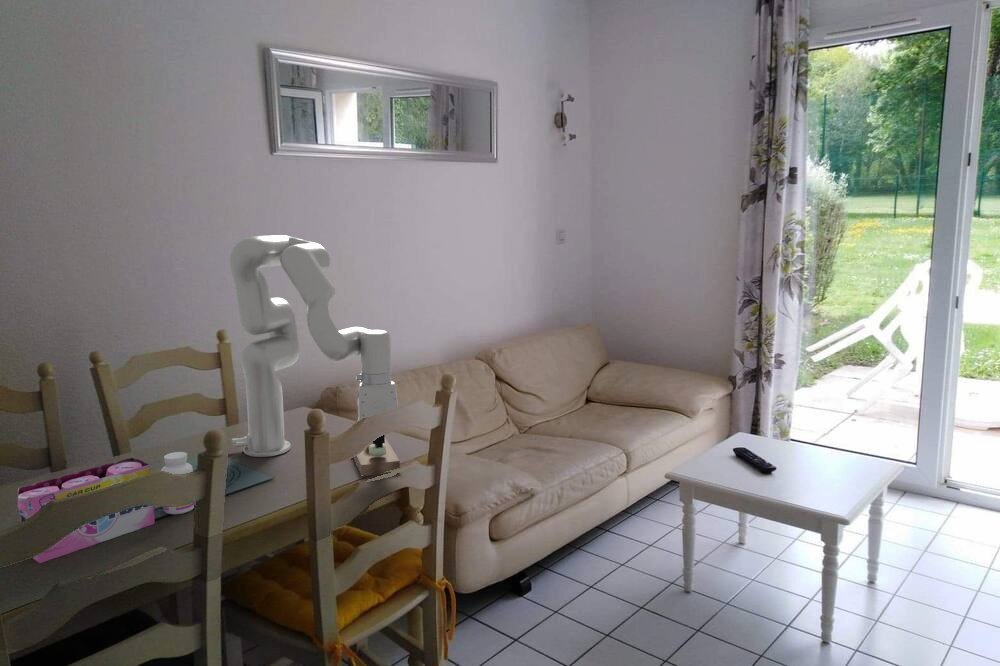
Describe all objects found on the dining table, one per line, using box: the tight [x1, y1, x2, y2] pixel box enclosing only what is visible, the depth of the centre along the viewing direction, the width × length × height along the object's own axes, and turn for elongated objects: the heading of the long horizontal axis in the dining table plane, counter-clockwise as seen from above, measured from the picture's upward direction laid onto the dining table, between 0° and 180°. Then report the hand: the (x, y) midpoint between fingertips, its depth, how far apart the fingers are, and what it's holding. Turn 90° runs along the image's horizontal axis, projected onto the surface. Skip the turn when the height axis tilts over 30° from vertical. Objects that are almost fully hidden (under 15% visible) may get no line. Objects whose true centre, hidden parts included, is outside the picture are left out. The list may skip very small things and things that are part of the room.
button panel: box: [353, 437, 401, 477], centre depth 191 cm, size 10×22×3 cm, turn 20°
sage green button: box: [369, 444, 386, 456], centre depth 184 cm, size 4×4×2 cm
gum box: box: [17, 456, 156, 564], centre depth 143 cm, size 24×8×14 cm, turn 143°
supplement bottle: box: [160, 451, 195, 515], centre depth 158 cm, size 7×7×13 cm
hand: (378, 446), depth 184 cm, fingers closed
